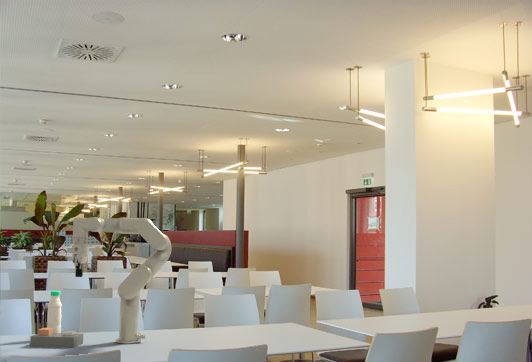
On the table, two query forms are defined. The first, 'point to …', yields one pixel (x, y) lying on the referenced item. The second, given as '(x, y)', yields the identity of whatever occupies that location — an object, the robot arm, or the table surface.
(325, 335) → the table surface
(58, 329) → the water bottle
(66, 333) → the grey button
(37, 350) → the table surface
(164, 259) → the robot arm
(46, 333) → the terracotta button
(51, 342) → the block
